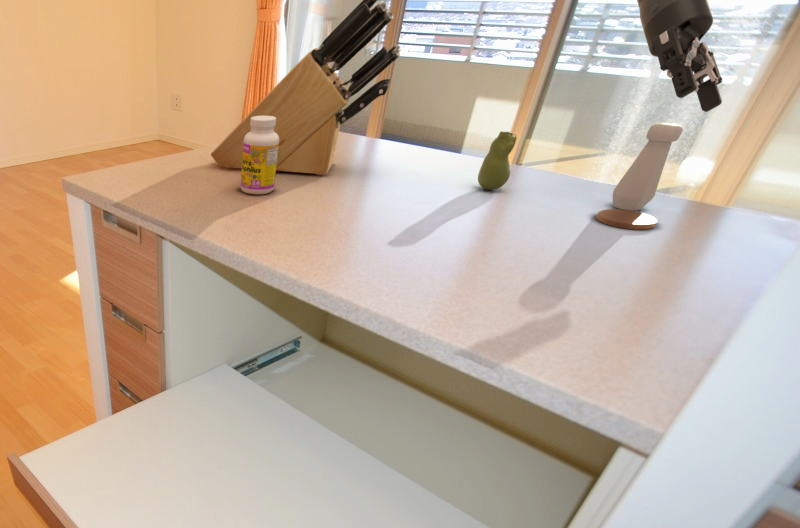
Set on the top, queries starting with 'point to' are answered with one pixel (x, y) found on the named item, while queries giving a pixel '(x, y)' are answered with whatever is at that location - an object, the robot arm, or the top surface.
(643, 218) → the coaster
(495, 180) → the pear
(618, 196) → the salt shaker
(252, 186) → the supplement bottle
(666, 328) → the top surface
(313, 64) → the knife block
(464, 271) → the top surface
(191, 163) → the top surface
